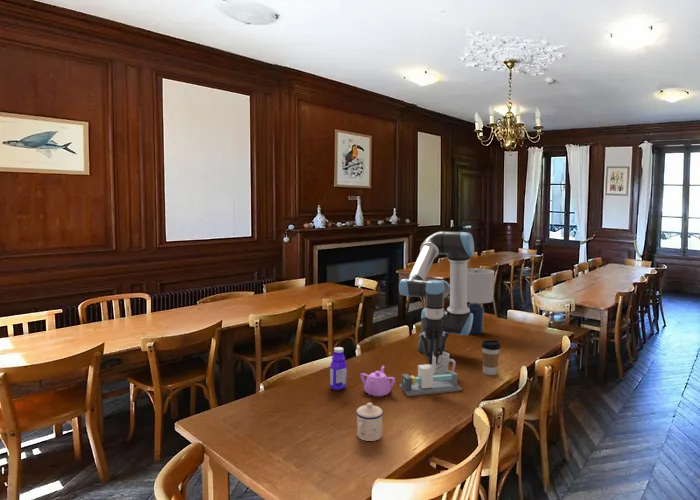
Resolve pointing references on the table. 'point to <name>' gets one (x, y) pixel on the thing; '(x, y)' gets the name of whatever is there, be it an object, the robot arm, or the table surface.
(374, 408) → the teacup with lid
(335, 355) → the bottle
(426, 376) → the white slider block
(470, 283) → the lamp
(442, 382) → the slider rail
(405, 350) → the table surface
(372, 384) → the teapot
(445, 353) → the mug
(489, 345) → the coffee cup
